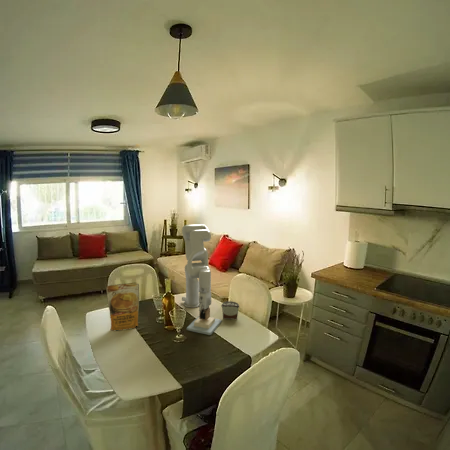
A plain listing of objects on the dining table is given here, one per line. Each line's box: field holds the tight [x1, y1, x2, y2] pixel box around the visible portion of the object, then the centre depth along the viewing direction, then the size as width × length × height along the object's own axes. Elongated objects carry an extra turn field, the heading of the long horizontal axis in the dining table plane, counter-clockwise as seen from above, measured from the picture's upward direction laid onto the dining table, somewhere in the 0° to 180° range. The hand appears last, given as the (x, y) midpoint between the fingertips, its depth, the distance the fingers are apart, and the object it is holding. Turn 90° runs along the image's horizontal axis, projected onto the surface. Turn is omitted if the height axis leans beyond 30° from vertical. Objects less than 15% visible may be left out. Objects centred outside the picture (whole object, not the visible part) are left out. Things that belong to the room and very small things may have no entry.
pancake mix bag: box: [105, 282, 140, 331], centre depth 177 cm, size 7×19×28 cm, turn 110°
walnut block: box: [198, 307, 211, 320], centre depth 181 cm, size 5×5×6 cm
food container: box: [220, 300, 240, 320], centre depth 195 cm, size 12×6×10 cm, turn 84°
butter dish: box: [186, 315, 223, 336], centre depth 182 cm, size 16×18×4 cm
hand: (204, 316), depth 182 cm, fingers closed on walnut block, 4 cm apart
